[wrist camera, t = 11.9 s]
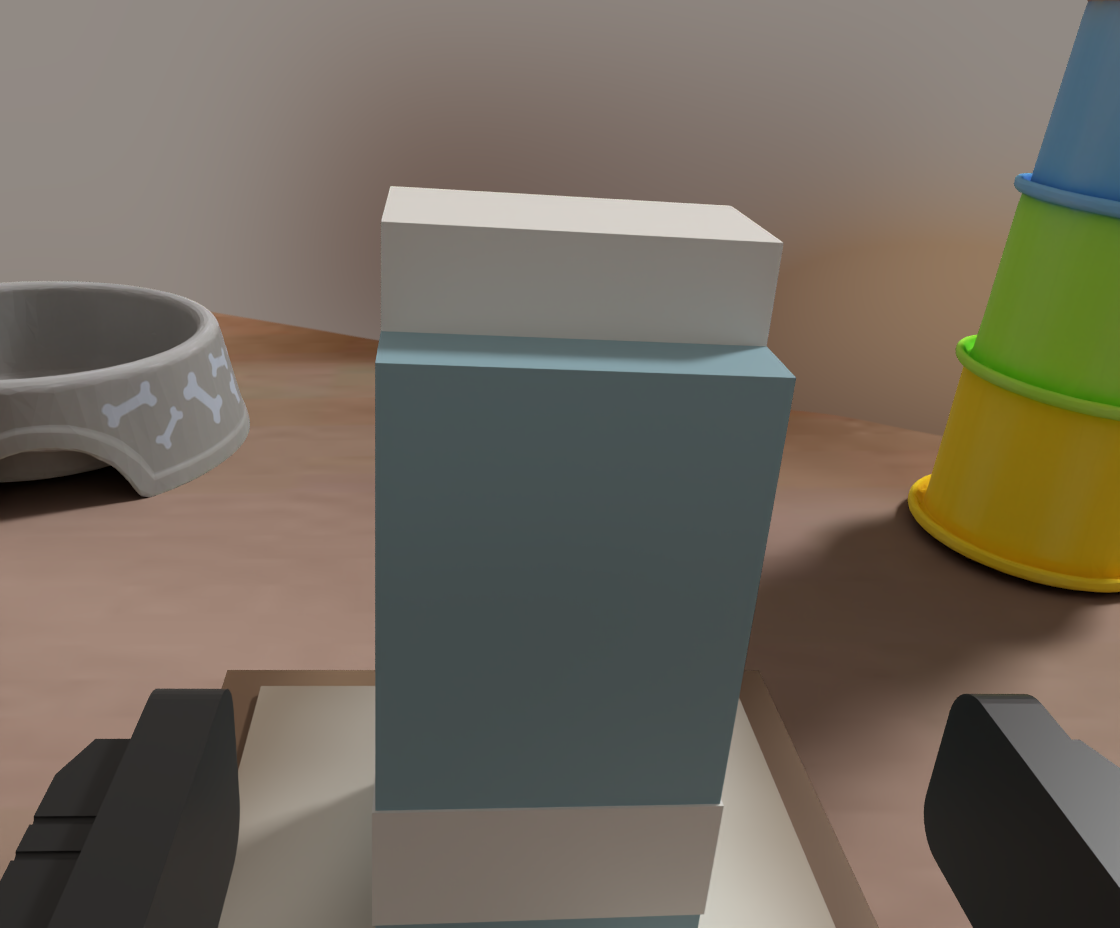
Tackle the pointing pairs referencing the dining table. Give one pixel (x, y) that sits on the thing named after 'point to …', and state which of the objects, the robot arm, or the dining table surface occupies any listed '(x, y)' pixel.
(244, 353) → the dining table surface
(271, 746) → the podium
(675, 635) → the carton
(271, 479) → the dining table surface
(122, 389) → the dog bowl
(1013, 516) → the stacking cups
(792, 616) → the dining table surface
